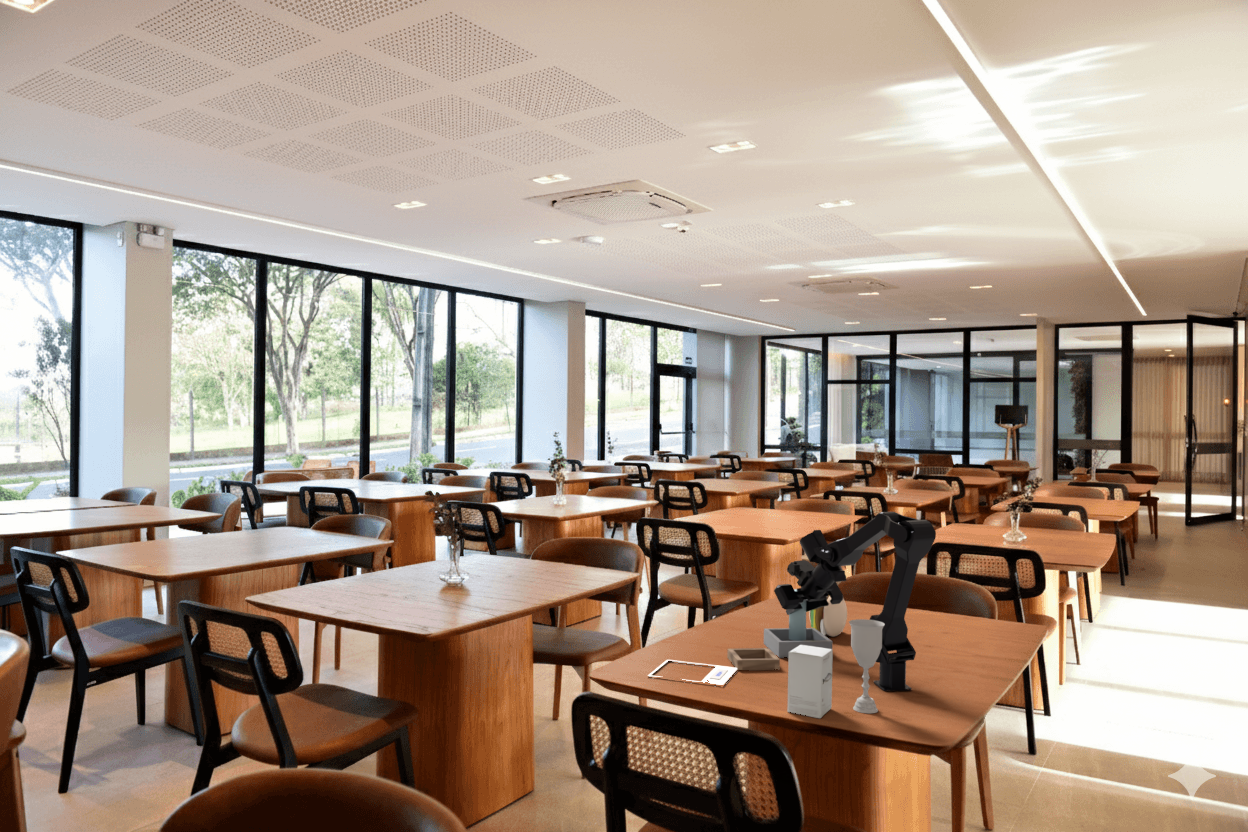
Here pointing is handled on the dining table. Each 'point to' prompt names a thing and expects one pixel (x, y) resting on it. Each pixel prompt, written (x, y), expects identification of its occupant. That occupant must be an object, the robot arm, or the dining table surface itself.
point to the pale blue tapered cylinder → (798, 624)
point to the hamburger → (829, 618)
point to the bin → (783, 645)
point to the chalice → (866, 656)
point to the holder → (753, 659)
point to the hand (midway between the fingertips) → (794, 612)
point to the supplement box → (810, 681)
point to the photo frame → (714, 677)
